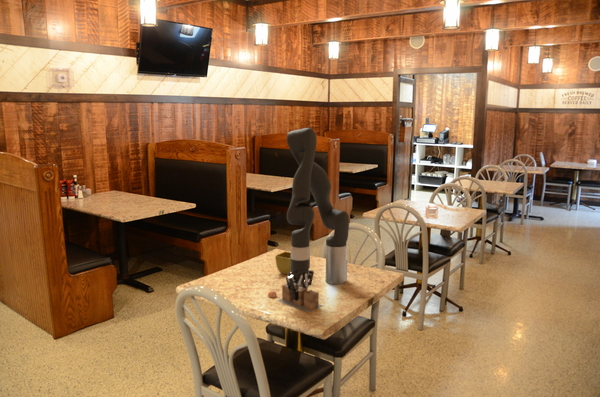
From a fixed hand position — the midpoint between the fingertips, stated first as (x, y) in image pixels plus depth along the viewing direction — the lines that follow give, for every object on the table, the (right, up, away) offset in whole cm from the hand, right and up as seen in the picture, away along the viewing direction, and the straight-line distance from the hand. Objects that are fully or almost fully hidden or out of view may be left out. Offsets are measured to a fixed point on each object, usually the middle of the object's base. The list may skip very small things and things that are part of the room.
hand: (300, 298), depth 192 cm
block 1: (-4, -1, +4) cm, 6 cm away
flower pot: (-6, +4, +41) cm, 41 cm away
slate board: (0, -3, +1) cm, 3 cm away
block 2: (+4, -3, -4) cm, 6 cm away
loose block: (0, -2, 0) cm, 2 cm away
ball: (-11, -2, +8) cm, 14 cm away
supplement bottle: (-2, -1, +15) cm, 15 cm away
